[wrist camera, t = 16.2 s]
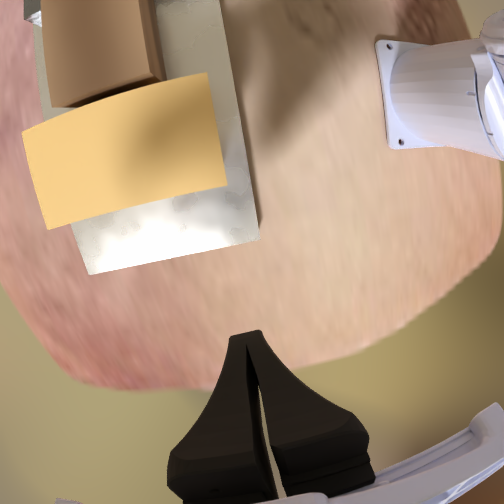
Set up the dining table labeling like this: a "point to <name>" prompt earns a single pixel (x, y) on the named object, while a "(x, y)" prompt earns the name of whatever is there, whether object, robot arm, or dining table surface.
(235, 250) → the dining table surface
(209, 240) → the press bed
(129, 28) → the brown wooden block
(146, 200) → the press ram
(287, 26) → the dining table surface
